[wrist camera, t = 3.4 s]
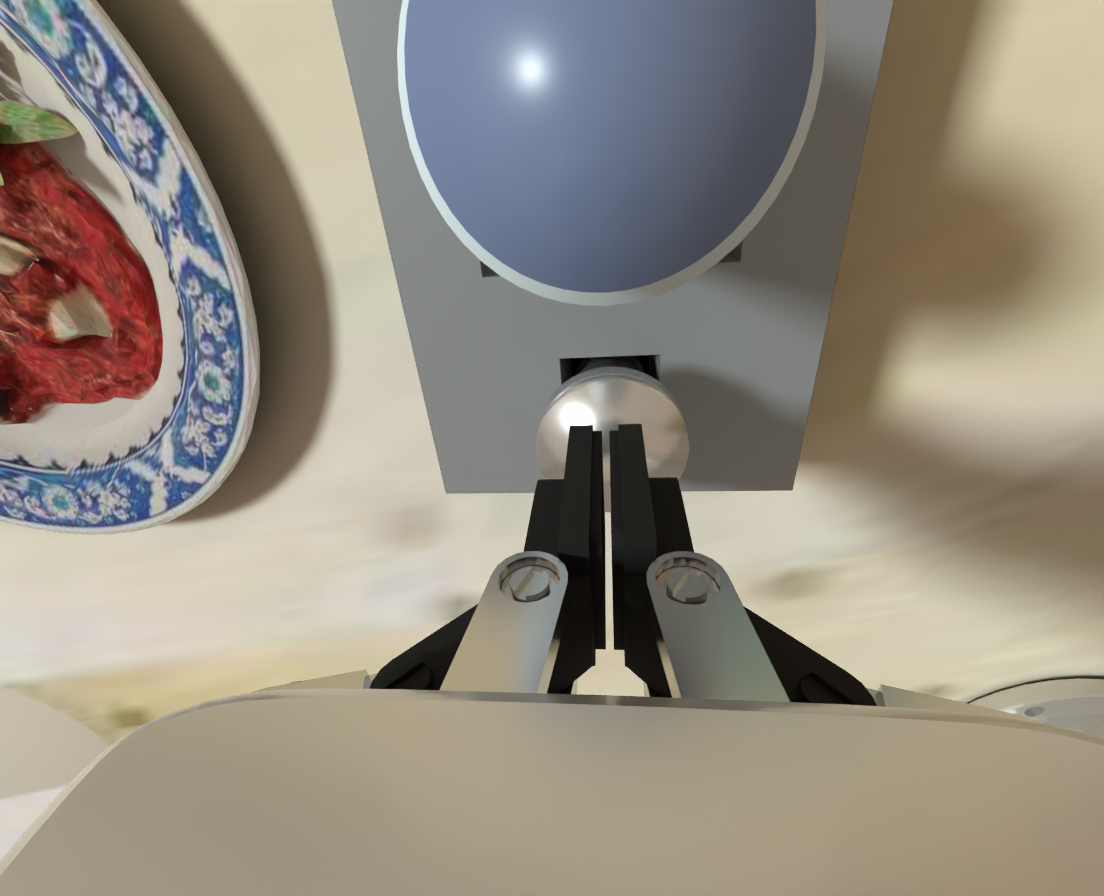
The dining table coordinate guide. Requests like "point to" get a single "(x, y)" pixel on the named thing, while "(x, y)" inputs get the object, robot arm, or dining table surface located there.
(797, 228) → the housing
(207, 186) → the ceramic plate
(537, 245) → the cylinder
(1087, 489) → the dining table surface
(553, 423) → the plunger
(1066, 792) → the robot arm
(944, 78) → the dining table surface
